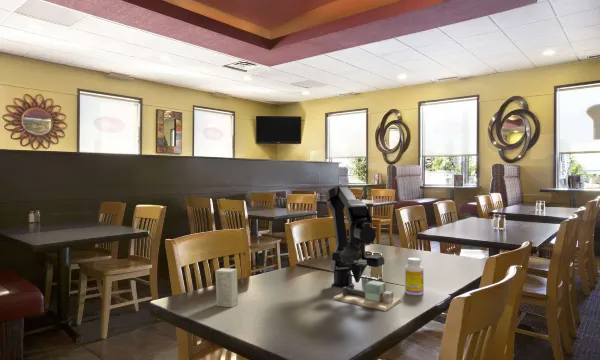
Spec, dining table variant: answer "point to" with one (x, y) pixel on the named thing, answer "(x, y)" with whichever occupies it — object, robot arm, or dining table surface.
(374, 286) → the mint green cube
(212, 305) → the dining table surface
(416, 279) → the supplement bottle
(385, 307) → the cable board
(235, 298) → the skincare box
